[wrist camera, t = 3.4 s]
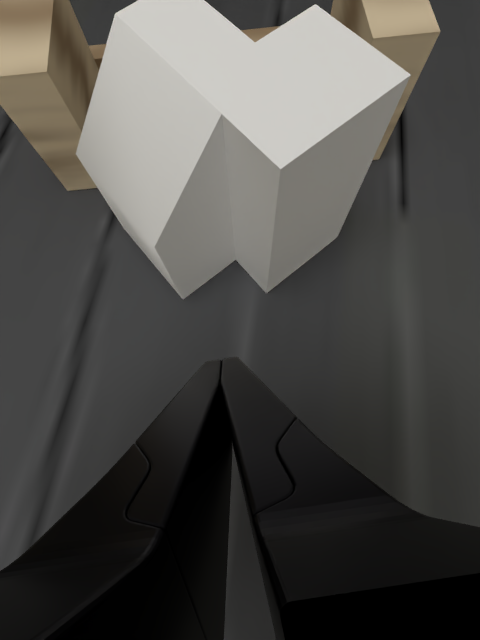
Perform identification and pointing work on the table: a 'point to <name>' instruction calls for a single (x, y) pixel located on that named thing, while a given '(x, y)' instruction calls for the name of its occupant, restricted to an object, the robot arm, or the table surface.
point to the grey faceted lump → (233, 136)
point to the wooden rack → (84, 61)
